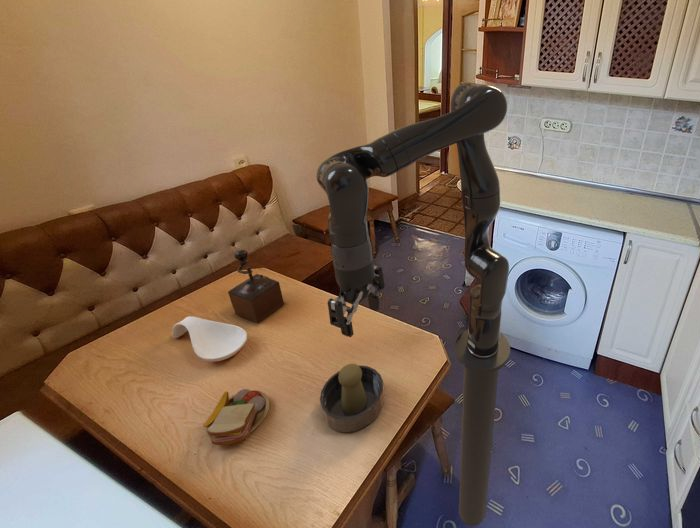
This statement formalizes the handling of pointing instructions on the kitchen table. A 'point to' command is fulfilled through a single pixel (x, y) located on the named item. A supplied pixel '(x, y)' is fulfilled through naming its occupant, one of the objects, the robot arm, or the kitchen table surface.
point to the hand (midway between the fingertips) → (362, 321)
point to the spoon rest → (211, 337)
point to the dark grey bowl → (357, 421)
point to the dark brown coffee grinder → (255, 294)
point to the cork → (352, 389)
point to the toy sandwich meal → (236, 416)
